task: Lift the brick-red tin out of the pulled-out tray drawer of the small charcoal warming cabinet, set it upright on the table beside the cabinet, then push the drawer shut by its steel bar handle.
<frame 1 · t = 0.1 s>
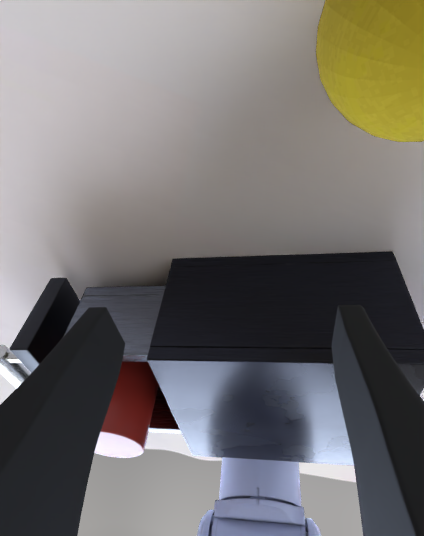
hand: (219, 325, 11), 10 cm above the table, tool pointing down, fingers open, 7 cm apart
tray drawer: (120, 363, 26), point 4 cm above the table, slide at 7.5 cm, touching spice tin
lemon: (380, 9, 14), on the table
warmer: (278, 321, 27), on the table
spice tin: (138, 342, 27), point 2 cm above the table, touching tray drawer
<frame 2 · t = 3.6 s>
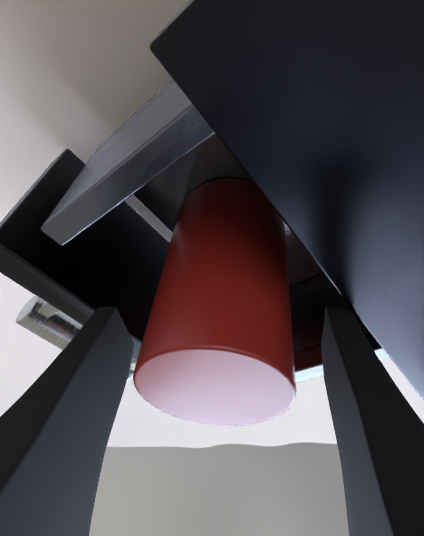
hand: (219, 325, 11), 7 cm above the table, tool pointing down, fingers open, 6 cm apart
tray drawer: (209, 261, 14), point 4 cm above the table, slide at 7.5 cm, touching spice tin
spice tin: (230, 224, 15), point 2 cm above the table, touching tray drawer
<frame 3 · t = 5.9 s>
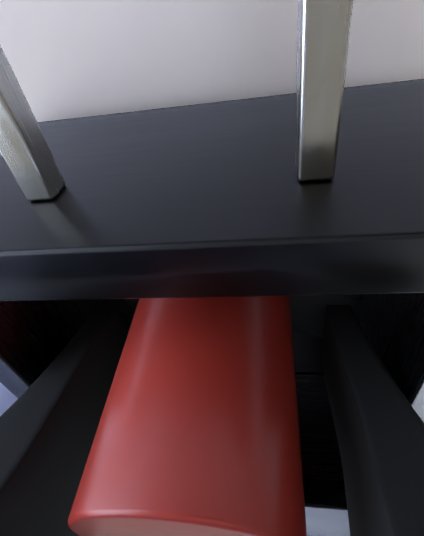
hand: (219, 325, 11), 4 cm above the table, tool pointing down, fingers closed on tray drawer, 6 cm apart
tray drawer: (210, 287, 10), point 4 cm above the table, slide at 8.5 cm, touching gripper, spice tin
warmer: (247, 383, 21), on the table
spice tin: (219, 266, 12), point 2 cm above the table, touching tray drawer
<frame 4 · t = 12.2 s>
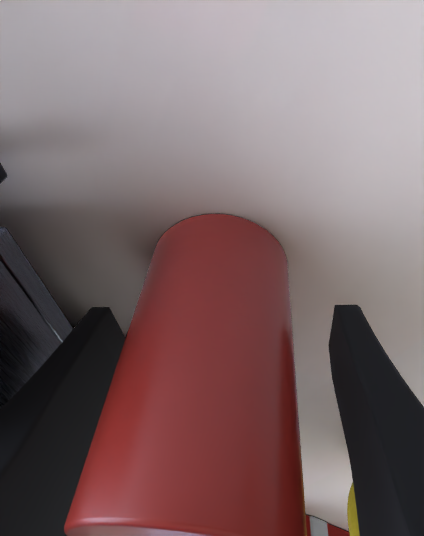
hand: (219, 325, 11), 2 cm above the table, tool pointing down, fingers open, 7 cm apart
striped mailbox: (253, 523, 38), on the table
lemon: (386, 446, 21), on the table
spice tin: (219, 267, 12), on the table
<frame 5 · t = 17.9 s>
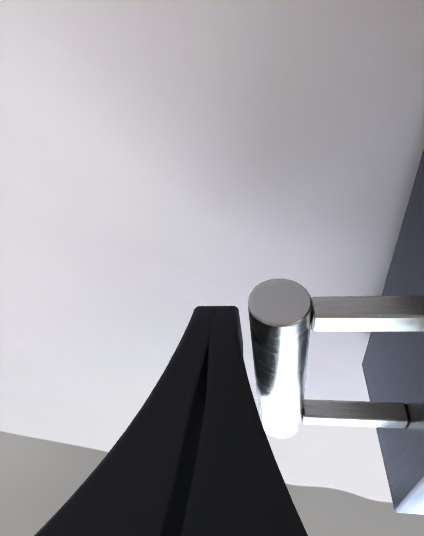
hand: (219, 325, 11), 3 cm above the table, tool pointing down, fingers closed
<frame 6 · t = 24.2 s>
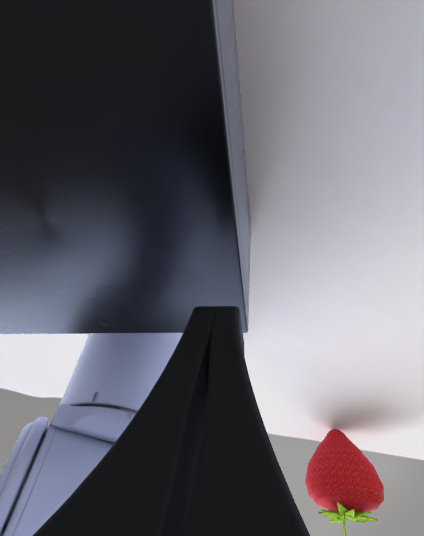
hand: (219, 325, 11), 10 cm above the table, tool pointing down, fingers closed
strawberry: (334, 428, 39), on the table
warmer: (107, 130, 18), on the table
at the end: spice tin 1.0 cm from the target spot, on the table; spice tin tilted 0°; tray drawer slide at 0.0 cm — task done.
